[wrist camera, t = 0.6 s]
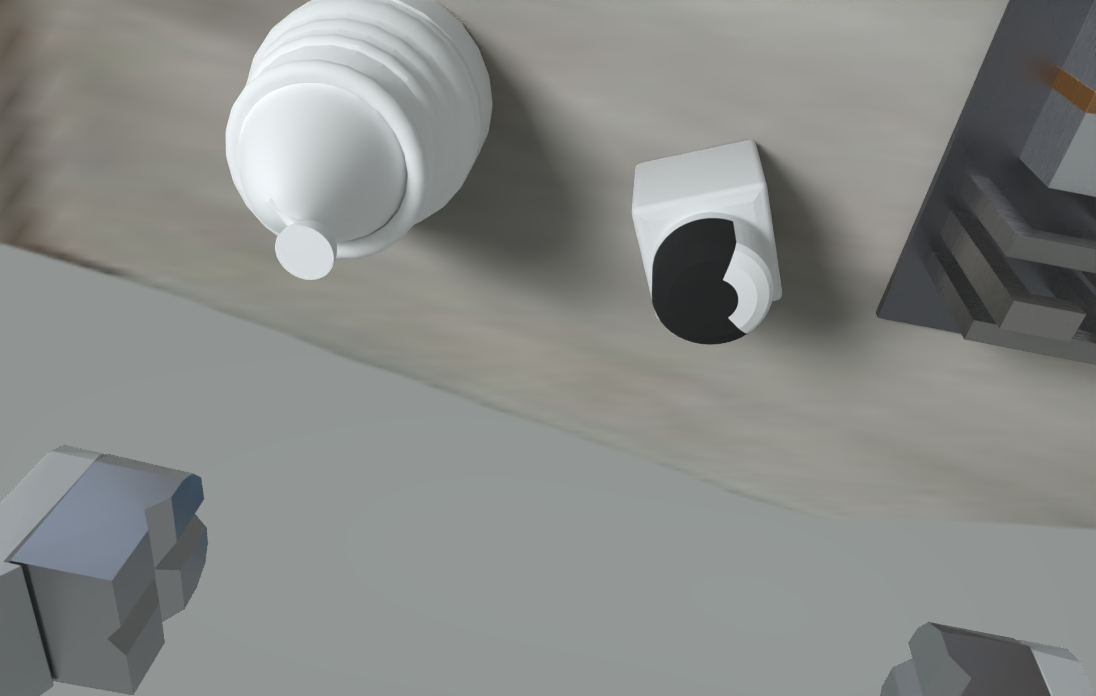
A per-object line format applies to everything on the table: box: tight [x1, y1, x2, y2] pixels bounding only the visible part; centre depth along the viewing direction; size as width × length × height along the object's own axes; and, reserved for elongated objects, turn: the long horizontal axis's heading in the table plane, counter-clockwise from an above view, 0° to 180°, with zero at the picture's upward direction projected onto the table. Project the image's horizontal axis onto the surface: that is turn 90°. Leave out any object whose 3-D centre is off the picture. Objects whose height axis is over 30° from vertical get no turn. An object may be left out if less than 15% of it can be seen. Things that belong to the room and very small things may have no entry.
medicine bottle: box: [632, 140, 782, 344], centre depth 47 cm, size 7×7×12 cm
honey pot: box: [226, 0, 493, 280], centre depth 44 cm, size 13×13×18 cm
